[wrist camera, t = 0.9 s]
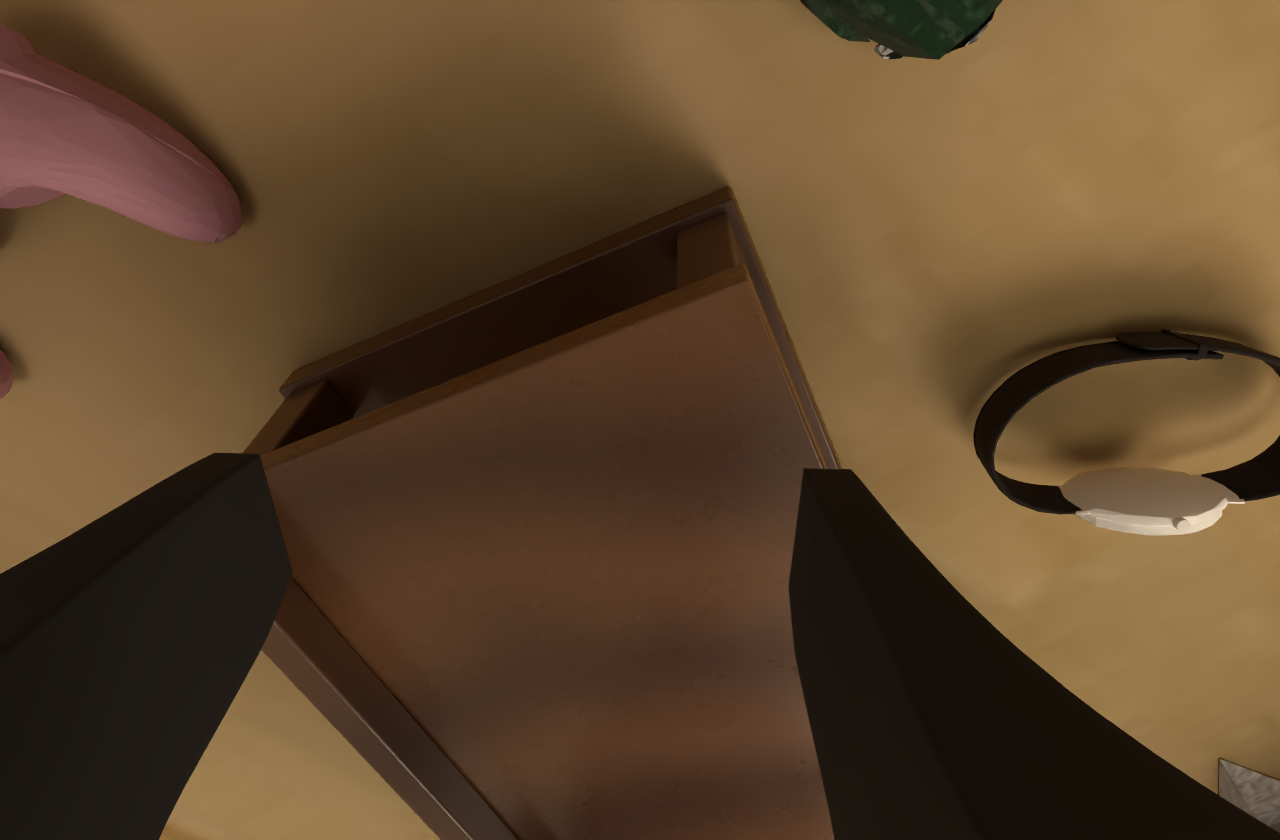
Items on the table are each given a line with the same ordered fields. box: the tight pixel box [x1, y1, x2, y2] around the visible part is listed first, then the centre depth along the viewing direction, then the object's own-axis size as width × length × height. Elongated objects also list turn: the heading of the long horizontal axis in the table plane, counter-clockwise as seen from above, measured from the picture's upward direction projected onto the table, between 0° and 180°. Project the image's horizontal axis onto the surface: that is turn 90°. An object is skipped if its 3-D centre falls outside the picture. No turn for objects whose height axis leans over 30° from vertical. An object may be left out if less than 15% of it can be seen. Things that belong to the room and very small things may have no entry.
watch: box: [973, 329, 1280, 535], centre depth 19 cm, size 8×5×4 cm, turn 97°
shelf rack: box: [242, 187, 842, 840], centre depth 21 cm, size 16×12×7 cm
